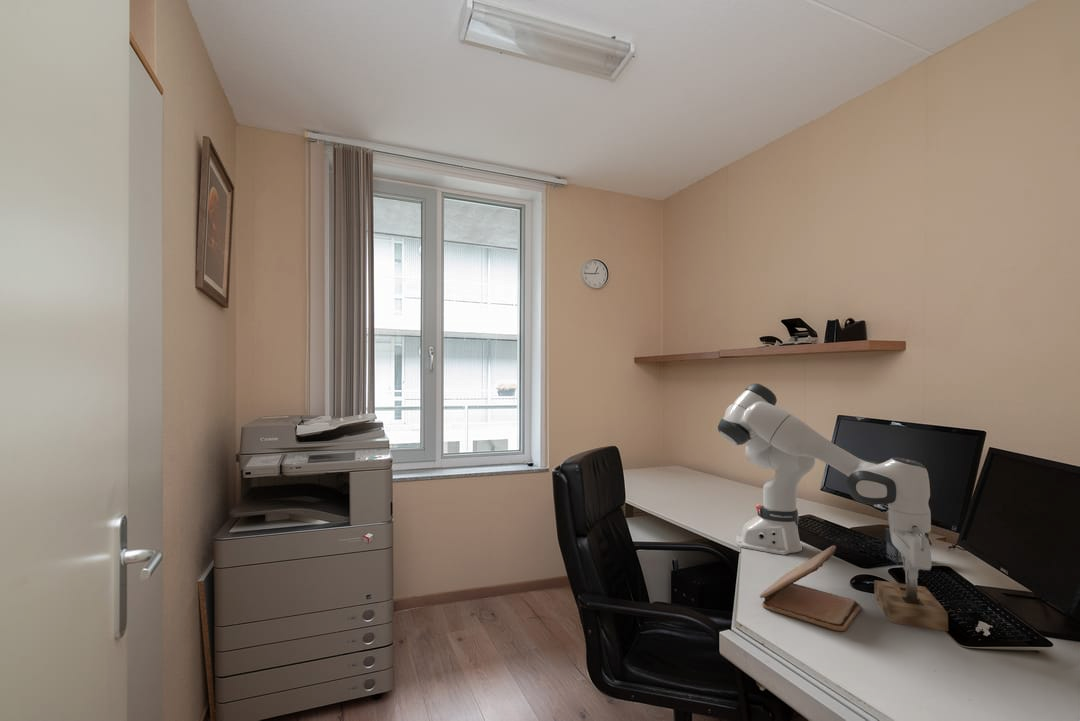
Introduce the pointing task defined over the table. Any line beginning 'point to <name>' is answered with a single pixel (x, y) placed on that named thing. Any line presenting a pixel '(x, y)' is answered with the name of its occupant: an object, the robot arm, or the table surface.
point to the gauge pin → (910, 585)
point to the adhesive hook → (984, 627)
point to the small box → (894, 548)
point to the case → (810, 598)
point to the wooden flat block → (910, 606)
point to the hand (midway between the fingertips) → (910, 574)
